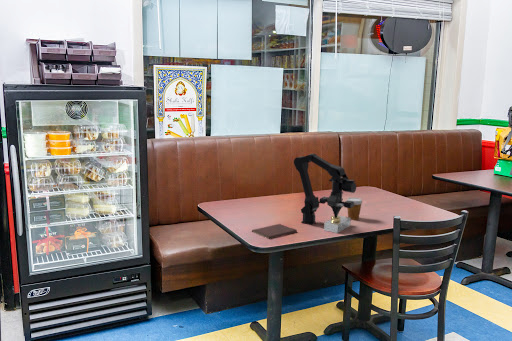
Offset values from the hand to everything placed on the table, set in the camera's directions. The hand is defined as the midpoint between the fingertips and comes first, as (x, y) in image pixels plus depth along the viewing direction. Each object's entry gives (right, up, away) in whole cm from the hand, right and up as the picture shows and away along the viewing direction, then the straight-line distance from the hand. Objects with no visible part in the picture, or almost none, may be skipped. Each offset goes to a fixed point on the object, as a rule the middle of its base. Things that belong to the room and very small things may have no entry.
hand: (335, 217), depth 269 cm
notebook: (-35, -8, -6) cm, 36 cm away
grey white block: (+2, -6, +4) cm, 8 cm away
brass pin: (0, -6, +1) cm, 6 cm away
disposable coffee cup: (+14, -3, +23) cm, 27 cm away
